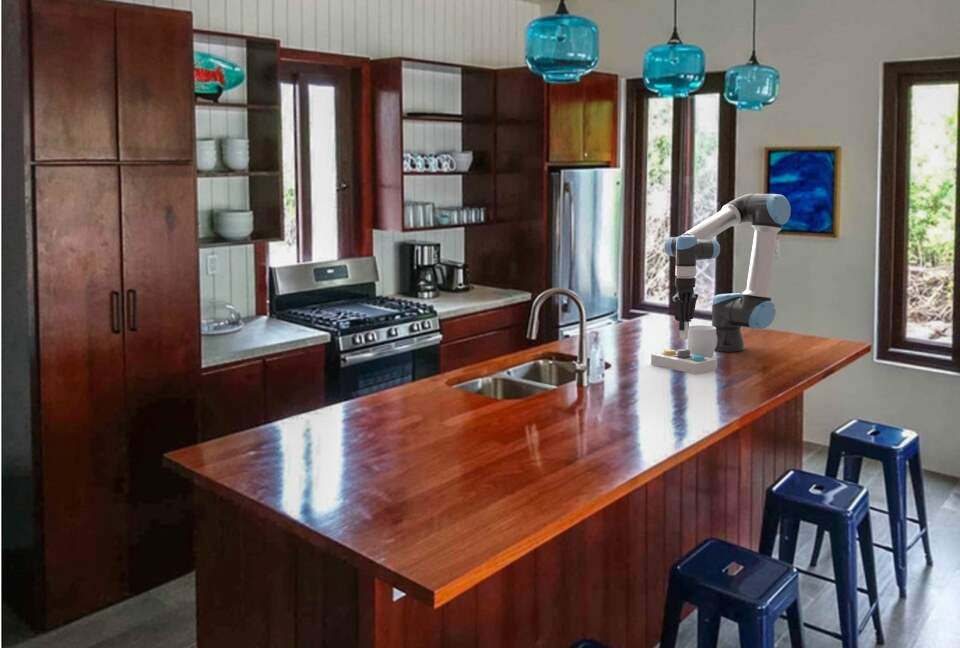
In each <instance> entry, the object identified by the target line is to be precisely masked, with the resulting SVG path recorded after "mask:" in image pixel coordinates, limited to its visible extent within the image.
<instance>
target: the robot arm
mask: <svg viewBox="0 0 960 648" xmlns="http://www.w3.org/2000/svg"><path fill="white" fill-rule="evenodd" d="M791 213H792V212H791V205H790V202H789V200H788V199H787V198H786V196H784V195H782V194H778V193H748V194H744V195H741V196H739V197H737V198H735V199H733V200H731V201H729V202H728V203H726V204H724V205H723V206H722V208H721V209H720V210H719V211H718V212H716V213H714V214H713V215H712V216H710V217H708V218H707V219H705V220H704V221H702V222H700V223H699V224H697V225H695V226H694V227H692V228H691V229H689V230H687V231H686V232H685V233H682V234H681V235H678V236H672V237H671V236H669V237H668V238H667V239H666V240H665V242H664V245H663V247H664V252H665V253H666V255H667V256H669V257H675V274H674V275H675V278H674V287H675V288H676V291H675V294H674V296H671V297H670V299H671V301H672V305H673V311H674V312H673V313H674V319H675V321H676V322H678V324H679V325H678V327H679V328H678V330H679V339H682V340H687V339H688V329H689V326H690V325H689V324H690V323H691V322H692V320H693V319H694V315H695V310H696V304H697V300H698V298H699V294H698V293H695V289H694V288H695V287H696V284H697V283H696V281H697V280H696V276H697V261H701V260H702V261H703V260H712V259H716V258H717V257H719V255H720V252H721V246H720V243H719V241H717V240H716V239H713V238H715V237H716V236H718V235H720V234H721V233H722V232H725V230H727V229H729V228H731V227H736V226H738V225H739V224H743V223H744V224H745V223H751V228H753V230H754V232H753V233H754V234H753V241H752V247H751V248H752V249H751V254H750V260H749V261H750V262H749V268H748V275H747V282H746V287H745V290H744V291H742V292H741V293H740V292H739V293H738V292H737V293H736V292H735V293H720V294H716V295H714V296H713V298H712V305H711V308H712V309H711V326H713V327H716V335H717V346H716V348H715V350H714V352H715V351H716V352H724V353H725V352H727V353H729V352H731V353H732V352H740V351H744V350H745V342H744V338H743V335H742V332H741V331H742V329H741V328H749V329H753V330H765V329H767V328H768V327H770V325H771V324H772V323H773V321H774V320H775V318H776V312H777V308H776V305H775V304H774V303H773V302H772V295H770V293H769V290H770V283H771V274H772V269H773V263H774V256H775V255H774V254H775V248H776V244H777V243H776V242H777V234H778V233H779V232H780V231H781V230H783V229H782V227H783V225H785V224H786V223H787V222H788V221H789V219H790V217H791Z"/></svg>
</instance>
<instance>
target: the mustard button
mask: <svg viewBox="0 0 960 648" xmlns="http://www.w3.org/2000/svg"><path fill="white" fill-rule="evenodd" d="M676 351H677V350H675V349H664V350H663V351H662V352H663V355H668V356H673V355H676Z"/></svg>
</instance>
